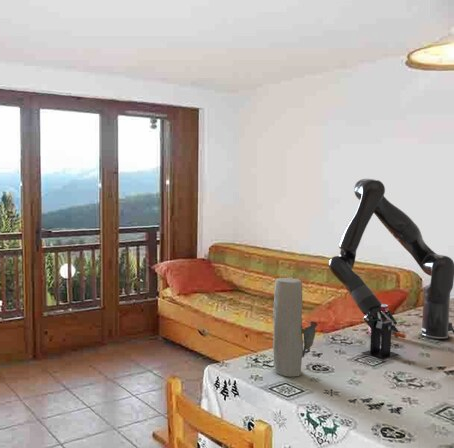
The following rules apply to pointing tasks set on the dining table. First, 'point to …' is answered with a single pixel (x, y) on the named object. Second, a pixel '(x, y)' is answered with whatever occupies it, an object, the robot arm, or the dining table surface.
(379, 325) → the clamp lever
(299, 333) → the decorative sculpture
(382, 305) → the soda can
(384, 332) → the clamp bracket
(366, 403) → the dining table surface
